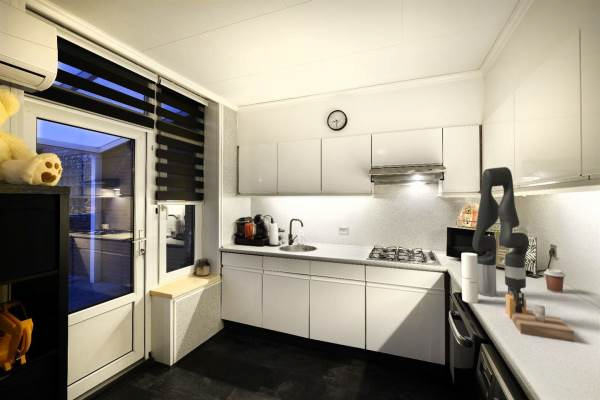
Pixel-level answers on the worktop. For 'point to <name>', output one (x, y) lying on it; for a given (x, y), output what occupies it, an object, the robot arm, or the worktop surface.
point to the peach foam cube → (511, 306)
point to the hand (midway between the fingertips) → (515, 310)
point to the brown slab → (542, 325)
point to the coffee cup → (554, 280)
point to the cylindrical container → (469, 278)
